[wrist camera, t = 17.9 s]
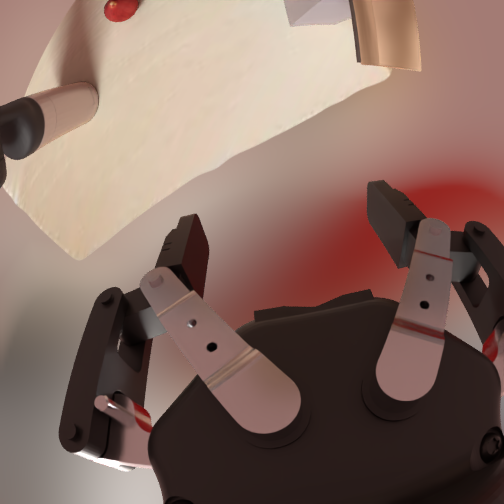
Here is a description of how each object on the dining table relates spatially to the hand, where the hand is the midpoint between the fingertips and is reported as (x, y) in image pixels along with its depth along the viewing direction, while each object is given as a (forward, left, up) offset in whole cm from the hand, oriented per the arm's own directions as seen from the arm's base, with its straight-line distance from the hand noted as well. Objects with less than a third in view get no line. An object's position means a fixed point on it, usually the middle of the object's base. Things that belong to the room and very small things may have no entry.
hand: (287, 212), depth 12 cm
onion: (-17, +26, -38) cm, 49 cm away
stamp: (+12, +17, -13) cm, 25 cm away
